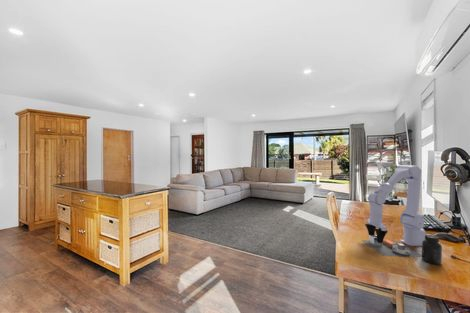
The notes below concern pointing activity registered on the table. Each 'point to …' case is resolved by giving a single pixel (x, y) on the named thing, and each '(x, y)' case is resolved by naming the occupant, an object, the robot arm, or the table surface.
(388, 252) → the mat
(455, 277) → the table surface
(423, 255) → the supplement bottle
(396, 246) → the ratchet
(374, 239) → the socket
